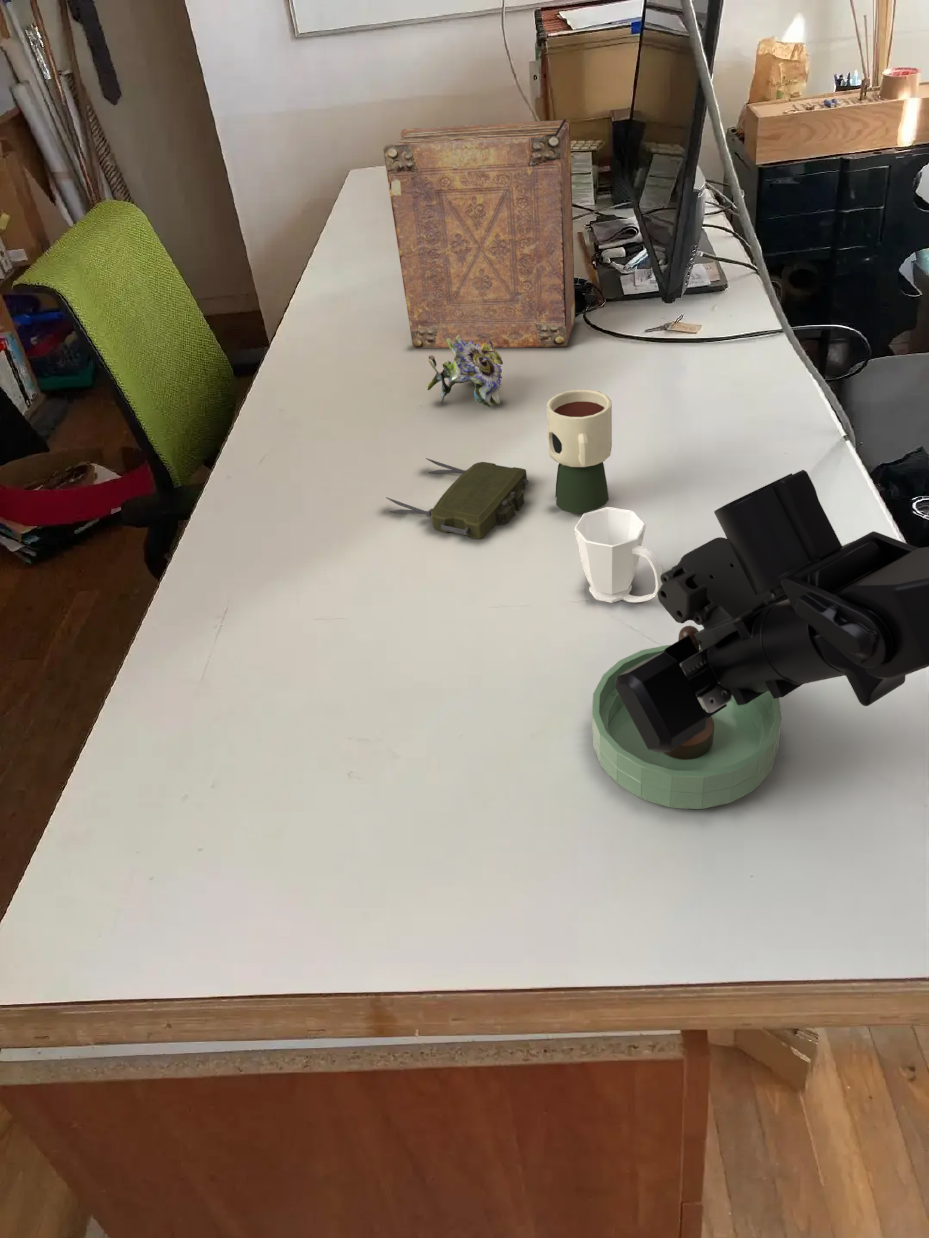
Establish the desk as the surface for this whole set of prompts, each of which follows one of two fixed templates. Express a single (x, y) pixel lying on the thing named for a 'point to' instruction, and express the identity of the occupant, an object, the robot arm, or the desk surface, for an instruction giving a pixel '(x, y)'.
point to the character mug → (580, 447)
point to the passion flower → (471, 370)
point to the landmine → (476, 499)
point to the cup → (613, 553)
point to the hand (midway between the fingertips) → (674, 674)
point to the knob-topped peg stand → (705, 738)
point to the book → (485, 232)
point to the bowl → (692, 783)
